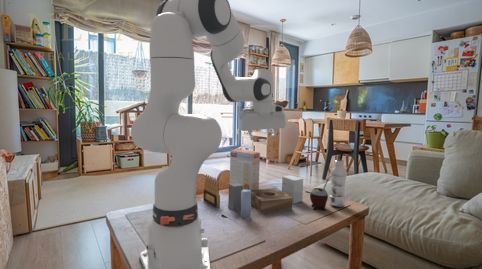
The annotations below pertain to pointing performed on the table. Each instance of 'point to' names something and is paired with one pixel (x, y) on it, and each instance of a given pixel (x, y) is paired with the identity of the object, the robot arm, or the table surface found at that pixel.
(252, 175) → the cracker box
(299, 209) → the table surface
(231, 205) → the square peg
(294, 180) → the small box
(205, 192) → the ammunition clip
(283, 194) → the socket block
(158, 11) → the robot arm
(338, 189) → the plastic bottle
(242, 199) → the blue-gray rectangular block
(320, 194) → the mate gourd
